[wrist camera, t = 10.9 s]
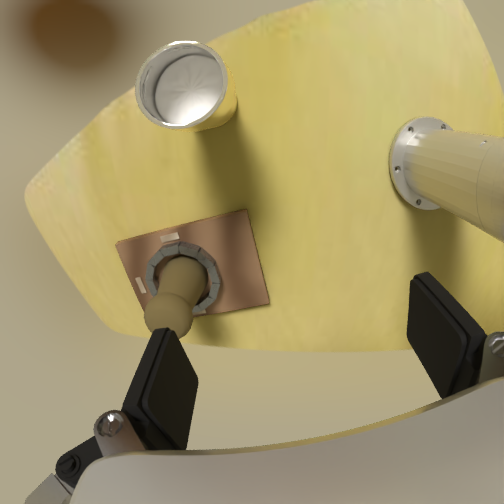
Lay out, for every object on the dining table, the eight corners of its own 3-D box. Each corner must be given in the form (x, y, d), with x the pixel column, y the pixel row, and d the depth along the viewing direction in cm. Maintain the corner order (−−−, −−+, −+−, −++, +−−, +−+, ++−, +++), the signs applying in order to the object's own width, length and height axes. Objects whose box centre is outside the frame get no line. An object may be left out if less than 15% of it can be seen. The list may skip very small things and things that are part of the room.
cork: (218, 276, 38) (206, 329, 28) (188, 303, 40) (170, 357, 30) (183, 245, 36) (158, 289, 26) (155, 274, 38) (126, 323, 28)
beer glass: (252, 91, 30) (250, 61, 16) (222, 141, 33) (199, 149, 19) (199, 66, 29) (162, 26, 15) (171, 116, 31) (116, 109, 17)
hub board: (246, 208, 36) (246, 211, 34) (269, 298, 41) (269, 304, 39) (118, 241, 37) (114, 245, 36) (152, 319, 42) (149, 324, 41)
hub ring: (208, 234, 36) (206, 238, 34) (228, 300, 39) (227, 306, 38) (139, 251, 37) (135, 255, 35) (164, 311, 40) (161, 317, 39)
